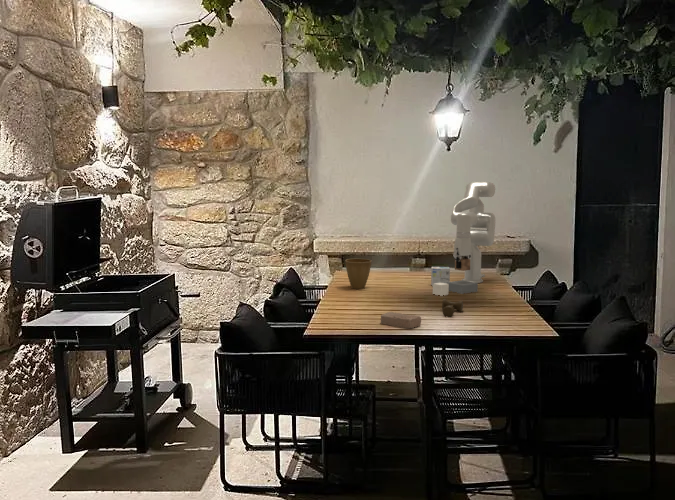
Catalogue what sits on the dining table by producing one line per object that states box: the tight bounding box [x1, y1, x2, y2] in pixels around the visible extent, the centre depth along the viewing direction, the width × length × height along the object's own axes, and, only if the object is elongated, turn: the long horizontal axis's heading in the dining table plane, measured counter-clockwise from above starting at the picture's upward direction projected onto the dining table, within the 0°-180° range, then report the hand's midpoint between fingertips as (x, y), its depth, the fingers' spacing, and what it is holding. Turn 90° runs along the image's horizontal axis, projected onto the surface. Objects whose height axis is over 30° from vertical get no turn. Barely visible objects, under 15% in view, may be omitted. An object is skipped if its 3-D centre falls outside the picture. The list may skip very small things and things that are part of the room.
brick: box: [380, 311, 422, 329], centre depth 281 cm, size 17×8×5 cm, turn 50°
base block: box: [447, 279, 479, 295], centre depth 359 cm, size 12×12×5 cm
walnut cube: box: [454, 257, 470, 272], centre depth 357 cm, size 6×6×6 cm
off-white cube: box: [432, 283, 450, 297], centre depth 349 cm, size 6×6×6 cm
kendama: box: [441, 298, 464, 317], centre depth 305 cm, size 6×10×20 cm
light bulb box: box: [430, 266, 451, 287], centre depth 375 cm, size 11×7×11 cm, turn 84°
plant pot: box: [345, 258, 373, 290], centre depth 367 cm, size 15×15×16 cm
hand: (462, 267), depth 357 cm, fingers closed on walnut cube, 6 cm apart
